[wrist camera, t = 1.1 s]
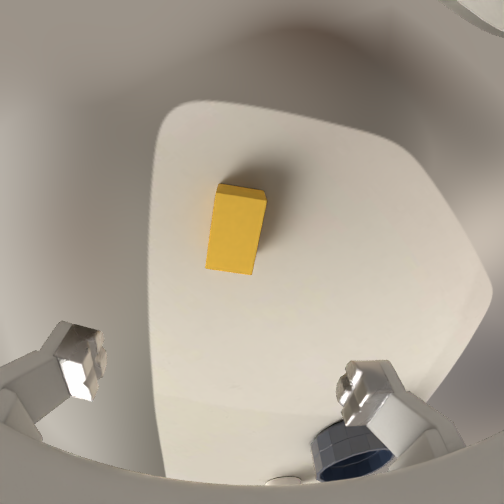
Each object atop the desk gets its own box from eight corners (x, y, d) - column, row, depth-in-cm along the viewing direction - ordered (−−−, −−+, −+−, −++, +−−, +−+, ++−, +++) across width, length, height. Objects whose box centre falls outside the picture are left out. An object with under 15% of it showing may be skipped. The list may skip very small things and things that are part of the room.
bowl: (389, 405, 31) (403, 438, 26) (377, 441, 36) (387, 469, 31) (309, 426, 32) (316, 463, 27) (310, 458, 36) (316, 488, 31)
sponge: (218, 183, 19) (215, 192, 17) (264, 190, 20) (267, 200, 17) (208, 252, 21) (205, 268, 19) (250, 258, 22) (251, 275, 19)
